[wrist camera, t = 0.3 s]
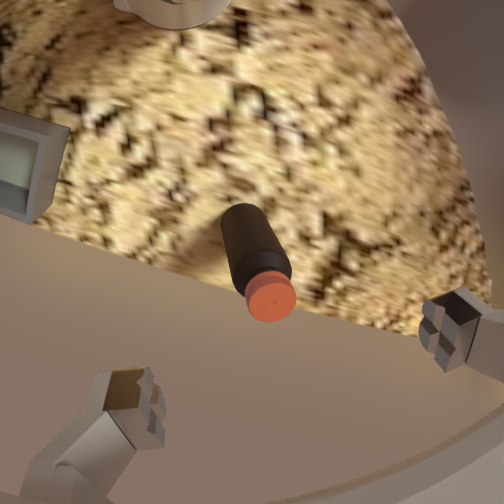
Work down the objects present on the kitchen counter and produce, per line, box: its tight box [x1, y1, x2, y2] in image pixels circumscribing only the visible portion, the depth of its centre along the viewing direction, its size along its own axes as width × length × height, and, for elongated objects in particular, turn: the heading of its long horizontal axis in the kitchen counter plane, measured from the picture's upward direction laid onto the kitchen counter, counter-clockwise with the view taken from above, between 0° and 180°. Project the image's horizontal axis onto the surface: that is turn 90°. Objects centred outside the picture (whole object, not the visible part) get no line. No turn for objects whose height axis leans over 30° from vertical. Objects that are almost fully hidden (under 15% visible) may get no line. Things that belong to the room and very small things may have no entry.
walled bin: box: [0, 108, 71, 225], centre depth 33 cm, size 16×12×8 cm
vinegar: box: [221, 203, 297, 322], centre depth 40 cm, size 7×7×20 cm
